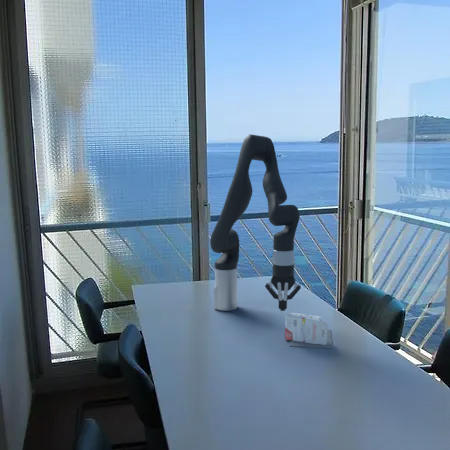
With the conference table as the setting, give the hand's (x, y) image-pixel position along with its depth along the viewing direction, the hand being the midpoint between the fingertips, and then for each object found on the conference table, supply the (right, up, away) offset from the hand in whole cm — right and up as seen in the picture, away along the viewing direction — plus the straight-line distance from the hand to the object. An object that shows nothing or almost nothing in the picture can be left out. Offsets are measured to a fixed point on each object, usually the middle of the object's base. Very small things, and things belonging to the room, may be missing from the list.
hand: (282, 310), depth 176 cm
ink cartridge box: (+1, -5, -1) cm, 5 cm away
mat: (+10, -10, -1) cm, 14 cm away
